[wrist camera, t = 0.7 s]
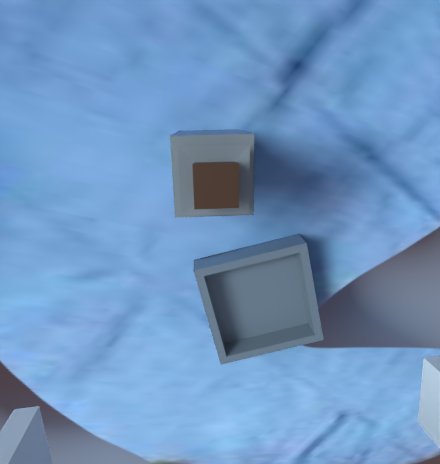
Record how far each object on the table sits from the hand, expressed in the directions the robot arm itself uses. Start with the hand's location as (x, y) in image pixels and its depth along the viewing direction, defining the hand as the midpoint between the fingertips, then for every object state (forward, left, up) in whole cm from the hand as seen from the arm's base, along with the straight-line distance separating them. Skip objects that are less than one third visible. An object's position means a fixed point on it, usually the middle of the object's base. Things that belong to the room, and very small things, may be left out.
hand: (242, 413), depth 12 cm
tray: (-3, +14, -33) cm, 36 cm away
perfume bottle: (-1, -5, -34) cm, 34 cm away
